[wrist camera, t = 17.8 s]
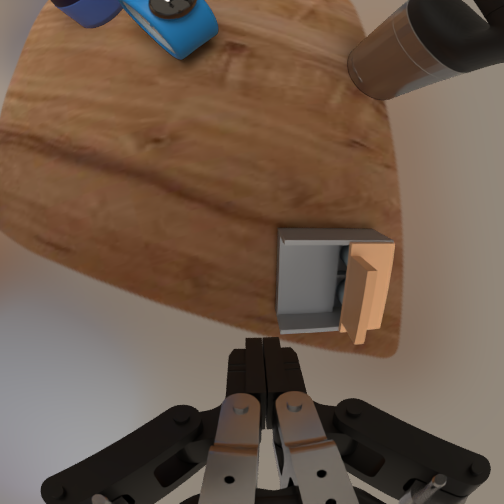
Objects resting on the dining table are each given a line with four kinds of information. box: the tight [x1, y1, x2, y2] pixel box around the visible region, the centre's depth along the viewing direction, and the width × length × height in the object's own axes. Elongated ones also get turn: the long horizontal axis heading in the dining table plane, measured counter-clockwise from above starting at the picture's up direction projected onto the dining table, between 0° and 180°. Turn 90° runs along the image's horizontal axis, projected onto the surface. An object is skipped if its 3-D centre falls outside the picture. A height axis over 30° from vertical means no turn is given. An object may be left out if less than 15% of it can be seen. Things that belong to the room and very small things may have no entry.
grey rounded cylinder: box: [336, 279, 346, 304], centre depth 37 cm, size 4×4×5 cm
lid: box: [338, 242, 395, 345], centre depth 31 cm, size 6×12×6 cm, turn 0°
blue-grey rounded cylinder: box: [340, 245, 349, 266], centre depth 36 cm, size 4×4×5 cm
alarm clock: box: [118, 0, 218, 60], centre depth 22 cm, size 13×6×15 cm, turn 40°
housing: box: [275, 228, 394, 334], centre depth 37 cm, size 14×12×7 cm
